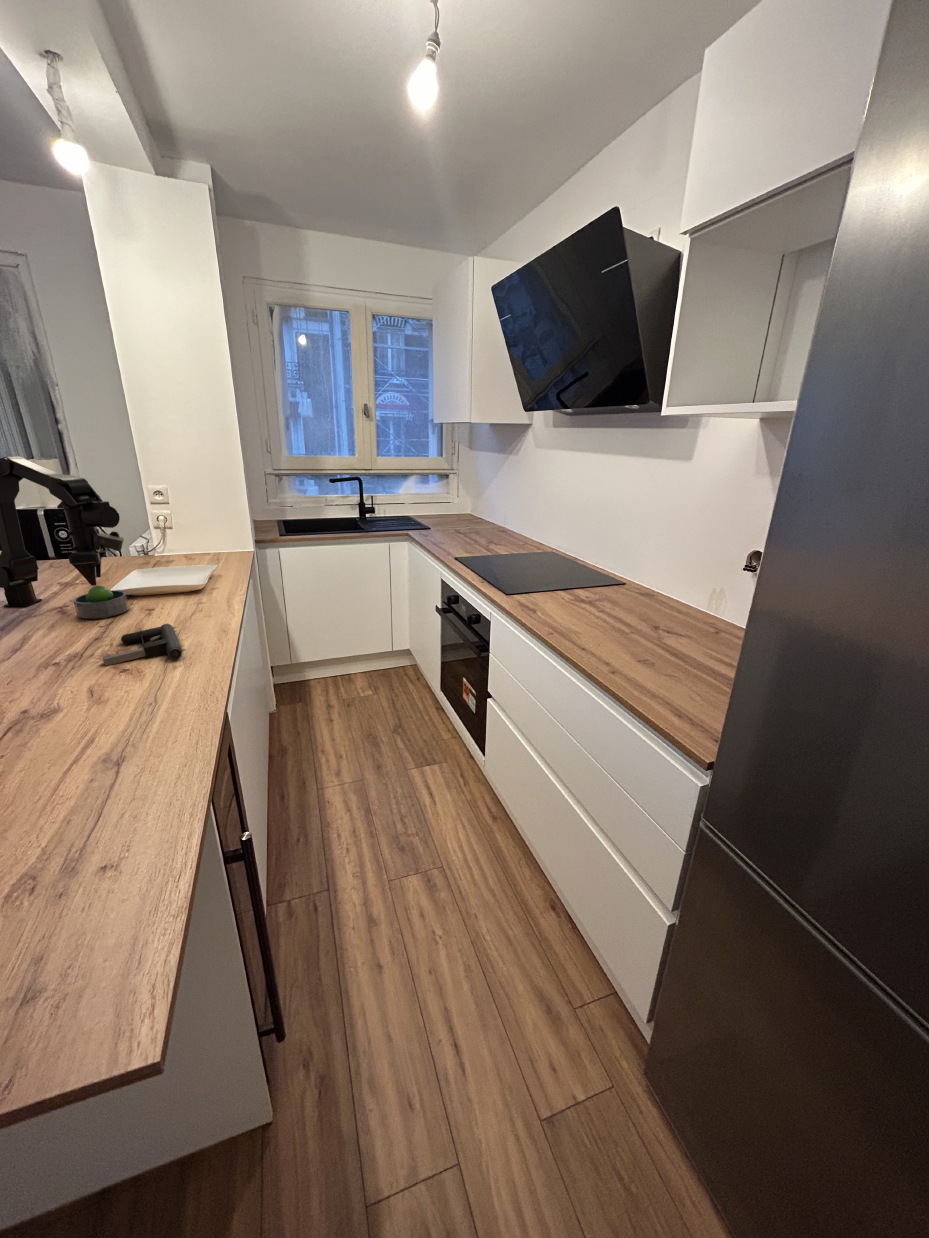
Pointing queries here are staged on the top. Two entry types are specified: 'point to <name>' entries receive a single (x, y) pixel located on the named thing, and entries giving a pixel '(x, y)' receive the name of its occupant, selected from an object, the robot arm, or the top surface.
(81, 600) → the bowl
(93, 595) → the broccoli
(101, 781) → the top surface
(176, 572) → the square plate
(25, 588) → the robot arm
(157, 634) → the door handle
